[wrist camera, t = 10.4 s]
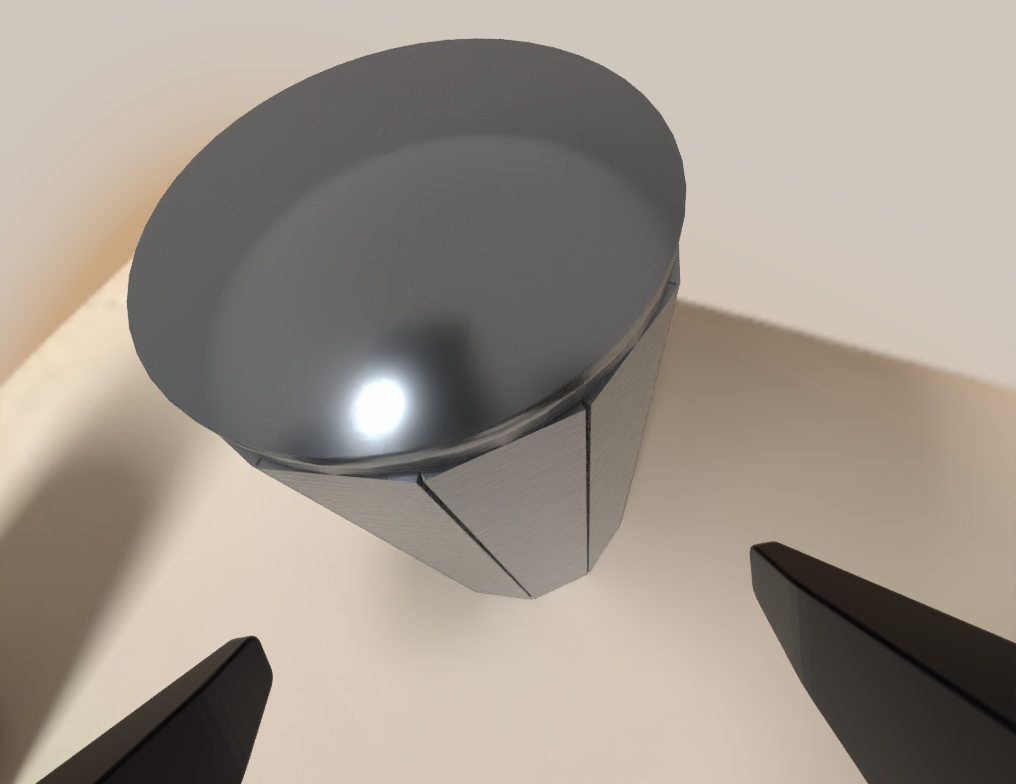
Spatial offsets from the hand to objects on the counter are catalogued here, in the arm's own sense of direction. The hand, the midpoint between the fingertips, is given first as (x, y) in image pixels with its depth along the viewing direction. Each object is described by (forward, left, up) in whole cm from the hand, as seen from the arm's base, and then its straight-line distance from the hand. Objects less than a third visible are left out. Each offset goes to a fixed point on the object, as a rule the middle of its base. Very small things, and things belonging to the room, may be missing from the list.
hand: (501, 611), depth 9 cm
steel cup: (+2, +4, -8) cm, 9 cm away
